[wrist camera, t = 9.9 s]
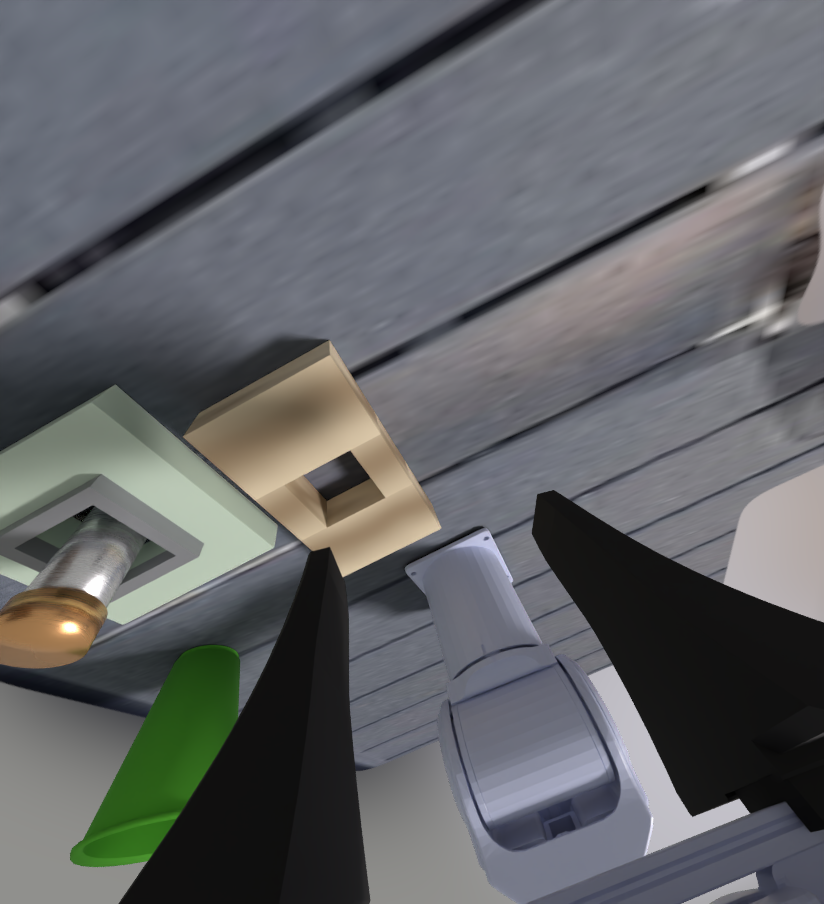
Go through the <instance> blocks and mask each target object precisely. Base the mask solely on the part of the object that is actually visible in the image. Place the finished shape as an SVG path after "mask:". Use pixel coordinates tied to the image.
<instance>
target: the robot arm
mask: <svg viewBox="0 0 824 904" xmlns="http://www.w3.org/2000/svg"><path fill="white" fill-rule="evenodd" d="M532 535H533V537H534V539H535V541H536V543H537V545H538V547H539V549H540V551H541V552H542V554H543V556H544V558H545V560H546V561H547V563H548V564H549V566H550V567H551V569H552V570H553V572H554V573H555V575H556V576H557V578H558V579H559V581H560V582H561V583H562V585H563V586H564V588H565V589H566V591H567V592H568V593H569V595H570V596H571V598H572V599H573V601H574V602H575V604H576V605H577V606H578V608H579V609H580V611H581V612H582V614H583V615H584V617H585V618H586V620H587V621H588V623H589V624H590V626H591V627H592V629H593V630H594V632H595V634H596V635H597V637H598V639H599V641H600V643H601V644H602V646H603V648H604V650H605V651H606V653H607V655H608V657H609V658H610V660H611V662H612V664H613V666H614V667H615V669H616V671H617V673H618V675H619V677H620V678H621V680H622V682H623V684H624V686H625V688H626V689H627V691H628V693H629V695H630V697H631V699H632V701H633V703H634V705H635V707H636V709H637V711H638V713H639V715H640V717H641V719H642V721H643V723H644V725H645V727H646V729H647V730H648V733H649V734H650V737H651V739H652V741H653V743H654V745H655V747H656V749H657V752H658V754H659V756H660V758H661V760H662V762H663V764H664V766H665V768H666V770H667V772H668V775H669V777H670V779H671V781H672V784H673V786H674V788H675V790H676V793H677V794H678V796H679V797H680V799H681V801H682V802H683V804H684V805H685V807H686V808H687V810H688V812H689V813H690V815H692V817H693V816H696V815H698V814H701V813H703V812H706V811H709V810H711V809H714V808H716V807H719V806H721V805H724V804H726V803H729V802H732V801H734V800H737V799H740V800H741V801H742V803H743V804H744V805H745V807H746V808H747V810H748V811H749V812H750V814H749V815H746V816H744V817H741V818H738V819H736V820H734V821H731V822H729V823H726V824H724V825H721V826H718V827H716V828H713V829H711V830H708V831H706V832H703V833H701V834H698V835H696V836H693V837H691V838H688V839H686V840H683V841H681V842H678V843H676V844H674V845H671V846H668V847H666V848H664V849H661V850H658V851H656V852H653V853H651V854H648V855H646V854H647V850H648V846H649V842H650V838H651V834H652V829H653V816H652V814H651V812H650V810H649V808H648V806H649V800H648V797H647V795H646V793H645V791H644V789H643V787H642V786H641V783H640V781H639V779H638V777H637V775H636V773H635V771H634V769H633V766H632V764H631V762H630V758H629V754H628V751H627V748H626V746H625V743H624V741H623V739H622V737H621V734H620V732H619V730H618V728H617V726H616V724H615V722H614V720H613V718H612V716H611V714H610V712H609V710H608V709H607V707H606V705H605V703H604V701H603V700H602V698H601V696H600V695H599V694H598V691H597V690H596V688H595V687H594V685H593V683H592V682H591V680H590V679H589V677H588V676H587V674H586V673H585V671H584V670H583V669H582V668H581V666H580V665H579V664H578V663H577V662H576V661H574V660H572V659H570V658H568V657H567V656H566V655H564V654H560V655H557V656H554V654H553V653H552V651H551V649H550V647H549V645H548V644H547V643H545V644H543V643H542V641H541V640H540V638H539V636H538V634H537V632H536V630H535V628H534V626H533V624H532V622H531V621H530V619H529V617H528V615H527V613H526V611H525V609H524V607H523V605H522V603H521V602H520V600H519V598H518V596H517V594H516V592H515V590H514V588H513V586H512V584H511V583H512V582H513V579H512V576H511V574H510V572H509V570H508V568H507V566H506V564H505V562H504V560H503V558H502V556H501V554H500V552H499V550H498V548H497V546H496V544H495V542H494V540H493V538H492V536H491V534H490V532H489V530H488V529H487V528H482V529H480V530H478V531H476V532H474V533H472V534H470V535H468V536H466V537H464V538H462V539H460V540H457V541H455V542H453V543H451V544H449V545H447V546H445V547H443V548H441V549H439V550H437V551H435V552H433V553H431V554H429V555H427V556H425V557H423V558H421V559H419V560H417V561H415V562H413V563H410V564H408V565H407V566H406V567H405V572H406V574H407V575H408V576H409V577H410V578H411V579H412V580H413V582H414V583H415V584H416V585H417V586H418V587H419V588H420V589H421V591H422V592H423V593H424V594H425V595H426V596H427V600H428V604H429V607H430V611H431V614H432V618H433V622H434V625H435V629H436V632H437V636H438V640H439V643H440V647H441V650H442V654H443V658H444V661H445V665H446V669H447V672H448V676H449V679H450V682H447V683H446V688H447V692H448V695H449V699H447V700H445V701H443V702H442V704H441V709H440V712H439V715H438V721H437V724H438V734H439V741H440V747H441V752H442V756H443V761H444V765H445V769H446V773H447V776H448V780H449V783H450V787H451V790H452V793H453V796H454V799H455V802H456V805H457V807H458V810H459V812H460V815H461V817H462V819H463V821H464V822H465V824H466V826H467V828H468V831H469V834H470V837H471V840H472V843H473V845H474V849H475V852H476V855H477V858H478V862H479V865H480V867H481V868H482V869H483V870H484V871H485V872H486V876H487V879H488V882H489V884H490V885H491V886H493V887H494V888H495V889H496V890H497V891H499V892H500V893H502V894H503V895H505V896H507V897H508V898H510V899H511V900H513V901H514V902H516V903H517V904H681V903H684V902H686V901H688V900H691V899H693V898H695V897H698V896H700V895H702V894H705V893H707V892H709V891H712V890H714V889H716V888H719V887H721V886H724V885H726V884H729V883H731V882H733V881H735V880H738V879H740V878H743V877H745V876H747V875H750V874H752V873H754V872H756V877H757V880H758V884H759V887H758V889H751V890H745V891H740V892H735V893H731V894H728V895H726V896H723V897H720V898H718V899H716V900H715V901H713V902H712V903H710V904H824V623H823V622H821V621H817V620H815V619H811V618H809V617H806V616H803V615H801V614H798V613H795V612H792V611H789V610H787V609H784V608H782V607H779V606H776V605H774V604H771V603H768V602H766V601H763V600H761V599H758V598H755V597H753V596H750V595H748V594H746V593H743V592H741V591H739V590H736V589H734V588H731V587H729V586H727V585H724V584H722V583H720V582H717V581H715V580H713V579H711V578H708V577H706V576H704V575H702V574H699V573H697V572H695V571H693V570H691V569H689V568H687V567H685V566H683V565H681V564H679V563H677V562H675V561H673V560H671V559H669V558H667V557H665V556H663V555H661V554H659V553H657V552H655V551H653V550H652V549H650V548H648V547H646V546H644V545H642V544H641V543H639V542H637V541H635V540H633V539H632V538H630V537H628V536H627V535H625V534H623V533H621V532H620V531H618V530H616V529H615V528H613V527H611V526H610V525H608V524H606V523H605V522H603V521H602V520H600V519H598V518H597V517H595V516H594V515H592V514H590V513H589V512H587V511H586V510H584V509H583V508H581V507H580V506H578V505H576V504H575V503H573V502H572V501H570V500H569V499H567V498H566V497H564V496H562V495H561V494H559V493H558V492H556V491H554V490H552V491H548V492H544V493H540V494H537V500H536V507H535V514H534V521H533V528H532ZM369 903H370V894H369V886H368V879H367V870H366V862H365V854H364V845H363V837H362V828H361V819H360V810H359V801H358V792H357V782H356V771H355V761H354V751H353V740H352V728H351V717H350V702H349V613H348V603H347V595H346V586H345V582H344V579H343V577H342V574H341V572H340V570H339V567H338V565H337V562H336V560H335V558H334V555H333V553H332V550H331V548H330V547H327V548H323V549H319V550H315V551H311V552H310V554H309V555H308V559H307V562H306V565H305V569H304V572H303V575H302V578H301V581H300V584H299V586H298V589H297V592H296V595H295V598H294V600H293V603H292V605H291V608H290V610H289V613H288V616H287V618H286V621H285V623H284V626H283V628H282V630H281V632H280V635H279V637H278V639H277V641H276V644H275V646H274V648H273V650H272V653H271V655H270V657H269V659H268V661H267V664H266V666H265V668H264V670H263V672H262V674H261V676H260V678H259V680H258V682H257V684H256V686H255V688H254V690H253V691H252V693H251V695H250V697H249V699H248V701H247V703H246V705H245V707H244V708H243V710H242V712H241V714H240V716H239V717H238V719H237V721H236V723H235V724H234V726H233V728H232V730H231V732H230V733H229V735H228V737H227V739H226V740H225V742H224V744H223V745H222V747H221V749H220V751H219V752H218V754H217V756H216V757H215V759H214V760H213V762H212V764H211V765H210V767H209V768H208V770H207V772H206V773H205V775H204V776H203V778H202V780H201V781H200V783H199V784H198V786H197V788H196V789H195V791H194V792H193V794H192V795H191V797H190V799H189V800H188V802H187V803H186V805H185V807H184V808H183V810H182V811H181V813H180V814H179V816H178V817H177V819H176V820H175V822H174V824H173V825H172V827H171V828H170V830H169V831H168V832H167V834H166V835H165V837H164V838H163V840H162V841H161V843H160V844H159V846H158V847H157V848H156V850H155V851H154V853H153V854H152V856H151V857H150V859H149V860H148V862H147V863H146V865H145V866H144V867H143V869H142V870H141V872H140V873H139V875H138V876H137V878H136V879H135V881H134V882H133V884H132V885H131V886H130V888H129V889H128V891H127V892H126V894H125V895H124V897H123V898H122V899H121V901H120V902H119V904H369Z"/></svg>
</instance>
